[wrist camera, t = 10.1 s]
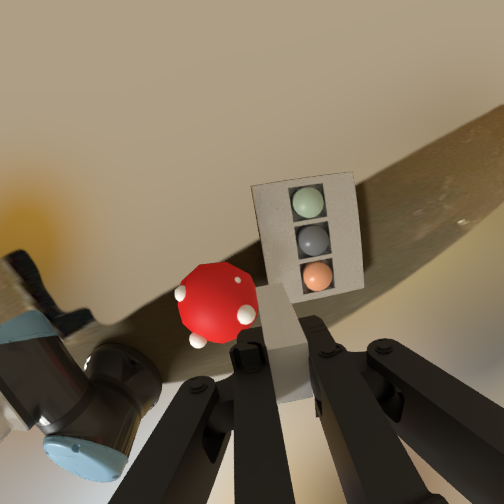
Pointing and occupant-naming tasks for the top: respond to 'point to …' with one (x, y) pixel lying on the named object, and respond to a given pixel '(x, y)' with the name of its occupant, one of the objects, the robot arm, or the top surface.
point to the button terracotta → (316, 275)
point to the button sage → (307, 202)
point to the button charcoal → (312, 239)
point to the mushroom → (216, 303)
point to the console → (289, 223)
